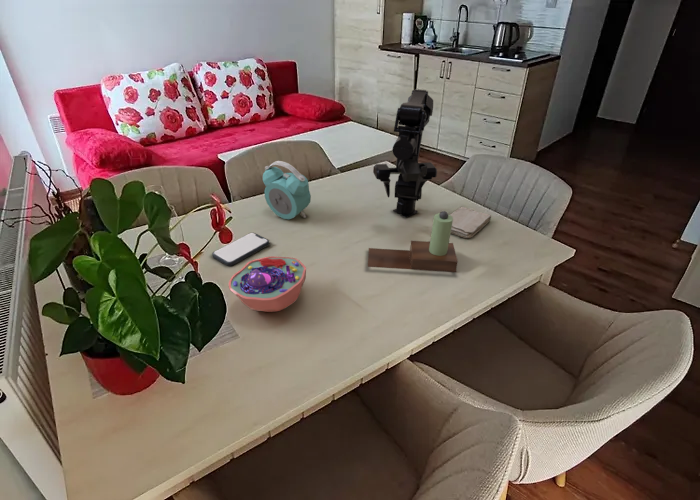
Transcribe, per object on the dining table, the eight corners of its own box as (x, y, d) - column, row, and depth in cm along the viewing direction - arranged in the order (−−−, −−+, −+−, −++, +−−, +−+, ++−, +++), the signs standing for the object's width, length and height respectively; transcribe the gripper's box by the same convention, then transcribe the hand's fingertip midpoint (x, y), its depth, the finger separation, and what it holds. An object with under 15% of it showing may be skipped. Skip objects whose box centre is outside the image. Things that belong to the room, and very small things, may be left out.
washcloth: (436, 229, 146) (437, 221, 144) (459, 210, 158) (461, 202, 156) (469, 241, 140) (470, 233, 138) (490, 220, 152) (492, 213, 150)
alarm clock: (316, 216, 151) (315, 162, 140) (299, 227, 144) (297, 171, 133) (278, 203, 158) (274, 151, 147) (260, 213, 151) (255, 159, 141)
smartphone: (230, 268, 124) (271, 244, 134) (229, 263, 123) (270, 240, 133) (210, 257, 128) (252, 235, 139) (209, 252, 127) (251, 231, 138)
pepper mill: (431, 244, 128) (437, 205, 121) (448, 248, 126) (455, 209, 119) (427, 253, 124) (432, 213, 117) (445, 257, 122) (452, 217, 115)
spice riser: (368, 252, 133) (369, 238, 130) (450, 256, 132) (453, 242, 129) (367, 270, 124) (368, 256, 122) (455, 276, 123) (457, 261, 120)
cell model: (322, 299, 113) (322, 263, 107) (258, 337, 101) (254, 299, 95) (282, 271, 123) (279, 237, 117) (219, 303, 110) (213, 266, 104)
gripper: (382, 159, 120) (379, 209, 128) (446, 157, 123) (439, 206, 131) (374, 145, 129) (371, 193, 138) (434, 144, 132) (427, 190, 140)
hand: (402, 196), depth 137 cm, fingers open, 9 cm apart
